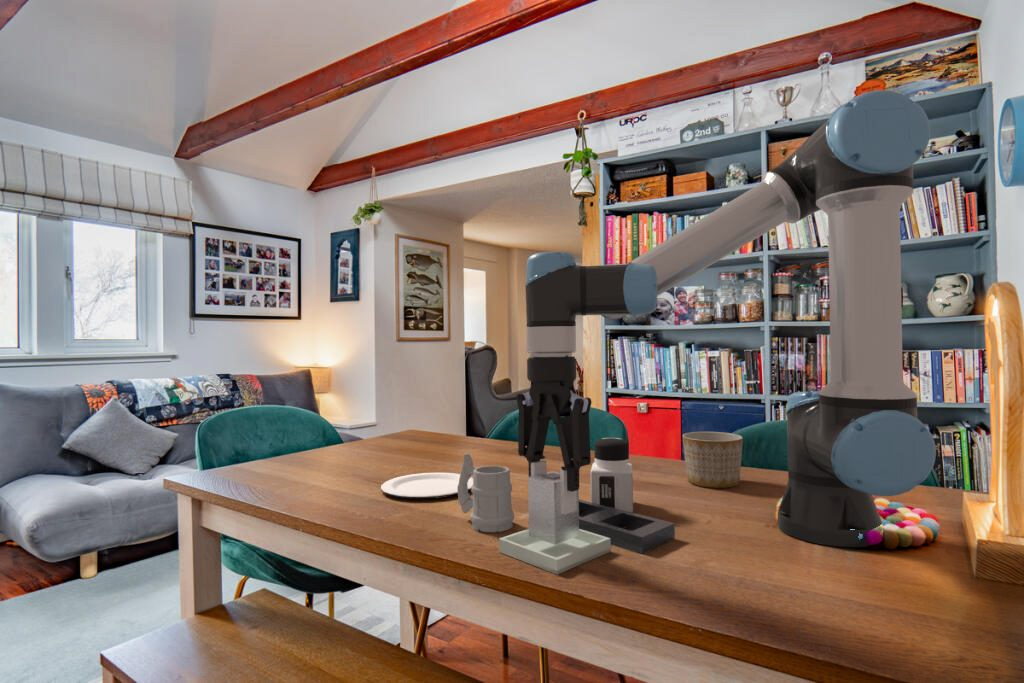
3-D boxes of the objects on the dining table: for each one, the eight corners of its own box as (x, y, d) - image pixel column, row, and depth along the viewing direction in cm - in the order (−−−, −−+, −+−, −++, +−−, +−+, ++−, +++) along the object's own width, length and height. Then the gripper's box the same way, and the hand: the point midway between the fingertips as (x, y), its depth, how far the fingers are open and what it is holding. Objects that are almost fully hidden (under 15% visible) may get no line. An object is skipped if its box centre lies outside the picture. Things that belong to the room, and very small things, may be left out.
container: (633, 513, 104) (631, 443, 104) (590, 511, 106) (589, 442, 106) (632, 501, 112) (631, 436, 112) (593, 500, 113) (592, 435, 113)
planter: (748, 480, 127) (747, 433, 127) (737, 493, 117) (736, 442, 117) (691, 474, 134) (690, 430, 134) (676, 485, 123) (675, 438, 123)
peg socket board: (674, 538, 90) (674, 523, 90) (642, 554, 84) (642, 537, 84) (563, 508, 108) (562, 495, 108) (529, 518, 102) (529, 505, 102)
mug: (495, 536, 93) (494, 463, 93) (444, 523, 100) (443, 455, 100) (523, 524, 99) (522, 456, 99) (473, 512, 106) (472, 449, 106)
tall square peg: (579, 535, 86) (578, 475, 86) (555, 544, 82) (554, 481, 82) (553, 527, 90) (552, 469, 90) (528, 535, 86) (528, 475, 86)
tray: (610, 551, 85) (610, 538, 85) (557, 574, 77) (556, 559, 77) (552, 532, 94) (552, 520, 94) (499, 551, 86) (498, 538, 86)
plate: (494, 492, 121) (494, 484, 121) (404, 510, 110) (404, 501, 110) (448, 474, 139) (448, 467, 139) (366, 488, 127) (366, 480, 127)
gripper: (615, 355, 82) (618, 515, 81) (526, 354, 95) (528, 491, 95) (582, 356, 76) (584, 527, 76) (493, 355, 90) (495, 500, 90)
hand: (553, 507), depth 86 cm, fingers closed on tall square peg, 5 cm apart
